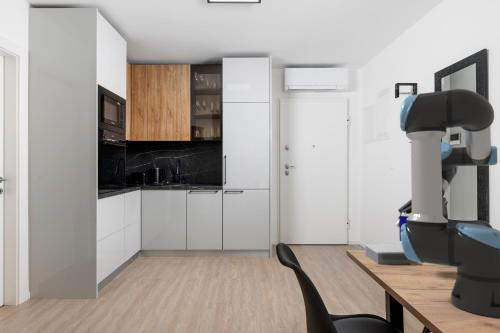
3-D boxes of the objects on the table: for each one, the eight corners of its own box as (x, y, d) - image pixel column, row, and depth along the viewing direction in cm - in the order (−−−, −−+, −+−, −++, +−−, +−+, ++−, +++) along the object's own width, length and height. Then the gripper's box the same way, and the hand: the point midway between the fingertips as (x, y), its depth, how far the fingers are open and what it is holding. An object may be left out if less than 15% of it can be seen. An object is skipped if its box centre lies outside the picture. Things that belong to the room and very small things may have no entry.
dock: (411, 264, 141) (411, 252, 141) (379, 264, 141) (378, 252, 141) (394, 254, 158) (394, 244, 158) (365, 254, 158) (365, 244, 158)
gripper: (470, 197, 129) (449, 240, 121) (412, 194, 150) (390, 230, 142) (462, 184, 126) (440, 226, 118) (404, 183, 148) (382, 218, 140)
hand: (413, 228), depth 130 cm, fingers closed on puzzle cube, 13 cm apart
